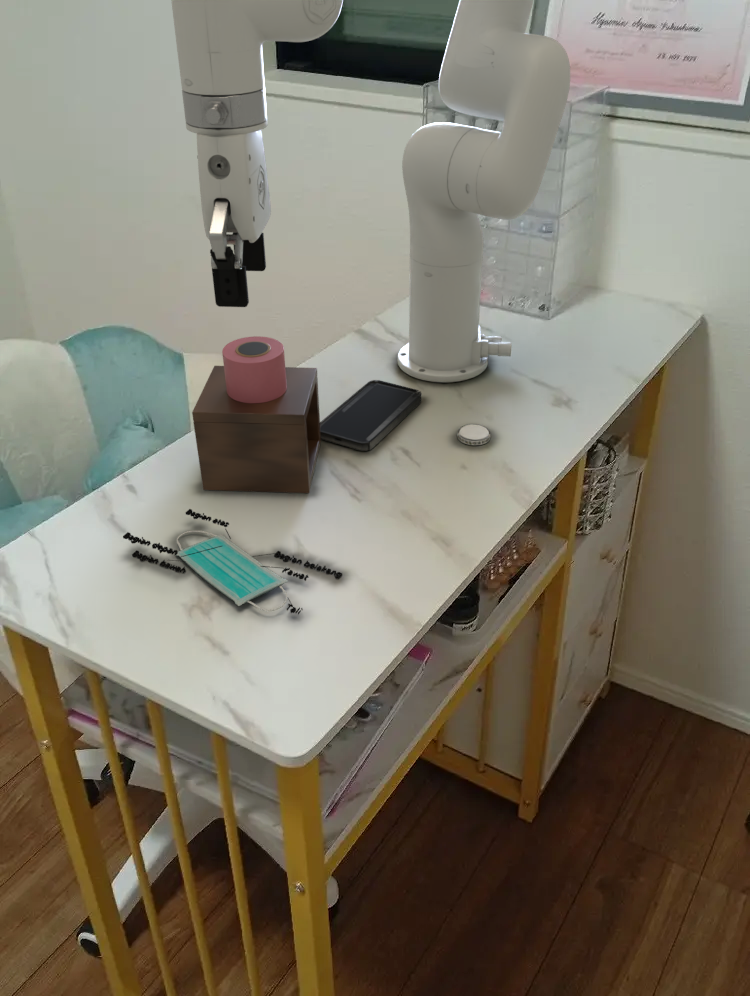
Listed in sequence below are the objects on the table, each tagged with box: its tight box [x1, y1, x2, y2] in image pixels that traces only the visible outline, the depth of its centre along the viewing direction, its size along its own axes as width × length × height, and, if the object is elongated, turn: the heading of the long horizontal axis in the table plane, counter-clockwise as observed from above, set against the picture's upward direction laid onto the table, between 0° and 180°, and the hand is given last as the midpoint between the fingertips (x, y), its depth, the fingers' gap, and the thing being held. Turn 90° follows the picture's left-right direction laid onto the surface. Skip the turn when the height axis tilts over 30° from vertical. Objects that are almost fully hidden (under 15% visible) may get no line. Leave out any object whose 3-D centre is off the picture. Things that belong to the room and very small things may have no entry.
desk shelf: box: [191, 365, 322, 494], centre depth 103 cm, size 12×11×10 cm
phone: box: [320, 379, 422, 452], centre depth 114 cm, size 8×1×15 cm
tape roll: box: [221, 335, 287, 403], centre depth 99 cm, size 7×7×5 cm
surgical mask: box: [122, 508, 343, 616], centre depth 89 cm, size 21×4×10 cm
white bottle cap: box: [456, 423, 492, 446], centre depth 110 cm, size 4×4×1 cm
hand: (242, 287), depth 93 cm, fingers open, 9 cm apart
